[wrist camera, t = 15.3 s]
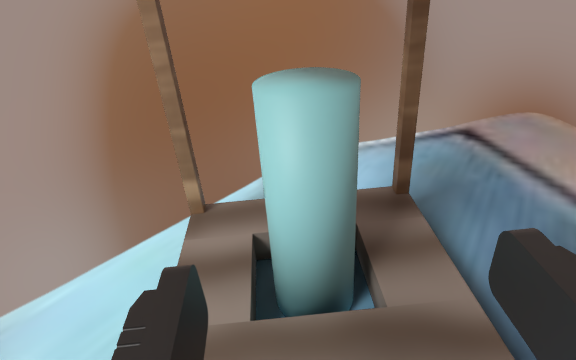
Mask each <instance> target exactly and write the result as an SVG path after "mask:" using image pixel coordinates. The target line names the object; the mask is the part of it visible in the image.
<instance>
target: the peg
mask: <svg viewBox="0 0 576 360" xmlns="http://www.w3.org/2000/svg"><path fill="white" fill-rule="evenodd" d="M360 83H361V79H360V77H359V76H358V75H356V74H355V73H352V72H349V71H346V70H341V69H335V68H321V67H315V68H314V67H310V68H296V69H288V70H282V71H278V72H274V73H270V74H267V75H264V76H262V77H260V78H258V79H257V80H255V81H254V82H253V84H252V91H253V100H254V108H255V118H256V126H257V135H258V144H259V152H260V160H261V170H262V179H263V187H264V196H265V205H266V213H267V222H268V231H269V240H270V248H271V257H272V266H273V274H274V283H275V292H276V300H277V305H278V307H279V309H280V310H281V312H282V313H283V314H284V315H285V316H286V317H295V316H305V315H314V314H324V313H334V312H343V311H349V310H350V308H351V306H352V303H353V288H354V259H355V230H356V200H357V171H358V142H359V141H358V140H359V113H360Z"/></svg>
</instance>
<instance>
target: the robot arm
mask: <svg viewBox="0 0 576 360" xmlns="http://www.w3.org/2000/svg"><path fill="white" fill-rule="evenodd" d="M489 284H490V288H491V291H492V293H493V295H494V297H495V298H496V300H497V301H498V303H499V304H500V306H501V307H502V309H503V310H504V312H505V313H506V314H507V316H508V317H509V319H510V320H511V322H512V323H513V325H514V326H515V328H516V329H517V330H518V332H519V333H520V335H521V336H522V338H523V339H524V341H525V342H526V344H527V345H528V346H529V348H530V349H531V351H532V352H533V354H534V355H535V357H536V358H537V360H576V255H575V254H574V253H572V252H570V251H568V250H567V249H565V248H563V247H561V246H555V245H554V244H553V243H552V242H551V241H550V240H549V239H548V238H547V237H546V236H545V235H544V234H543V233H542V232H540V231H539V230H537V229H535V228H529V229H520V230H511V231H503V232H502V233H501V234H500V235H499V238H498V241H497V245H496V248H495V252H494V256H493V259H492V263H491V267H490V270H489ZM207 332H208V308H207V303H206V299H205V296H204V292H203V289H202V286H201V282H200V279H199V275H198V272H197V269H196V267H195V265H184V266H175V267H166V268H164V269H163V271H162V273H161V277H160V280H159V283H158V286H157V289H156V290H147V291H144V292H143V293H142V294H141V295H140V297H139V298H138V299H137V300H136V302H135V303H134V304H133V305H132V306H131V308H130V309H129V312H128V315H127V318H126V320H125V323H124V326H123V332H121V334H120V337H119V340H118V343H117V349H115V351H114V354H113V356H112V359H111V360H204V354H205V346H206V339H207Z"/></svg>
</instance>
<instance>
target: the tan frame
mask: <svg viewBox="0 0 576 360" xmlns="http://www.w3.org/2000/svg"><path fill="white" fill-rule="evenodd" d="M137 3H138V7H139V11H140V15H141V19H142V23H143V27H144V31H145V35H146V39H147V43H148V47H149V51H150V54H151V58H152V62H153V66H154V70H155V74H156V78H157V82H158V86H159V90H160V94H161V98H162V101H163V105H164V110H165V114H166V117H167V121H168V125H169V129H170V133H171V137H172V141H173V145H174V149H175V153H176V157H177V160H178V165H179V169H180V172H181V176H182V181H183V185H184V188H185V192H186V196H187V200H188V204H189V208H190V212H191V217H190V220H189V224H188V228H187V232H186V235H185V239H184V243H183V246H182V250H181V254H180V258H179V261H178V265H177V266H184V265H195V267H196V269H197V272H198V275H199V279H200V282H201V286H202V289H203V292H204V296H205V299H206V303H207V308H208V332H207V339H206V346H205V354H204V360H515V359H514V358H513V356H512V354H511V353H510V351H509V350H508V348H507V347H506V345H505V343H504V342H503V340H502V339H501V337H500V336H499V334H498V332H497V331H496V329H495V328H494V326H493V325H492V323H491V322H490V320H489V318H488V317H487V315H486V314H485V312H484V311H483V309H482V307H481V306H480V304H479V303H478V301H477V300H476V298H475V296H474V295H473V293H472V292H471V290H470V289H469V287H468V285H467V284H466V282H465V281H464V279H463V278H462V276H461V274H460V273H459V271H458V270H457V268H456V267H455V265H454V263H453V262H452V260H451V259H450V257H449V256H448V254H447V252H446V251H445V249H444V248H443V246H442V245H441V243H440V241H439V240H438V238H437V237H436V235H435V234H434V232H433V230H432V229H431V227H430V226H429V224H428V223H427V221H426V219H425V218H424V216H423V215H422V213H421V212H420V210H419V208H418V207H417V205H416V204H415V202H414V201H413V199H412V197H411V196H410V194H409V186H410V177H411V168H412V159H413V150H414V141H415V132H416V123H417V114H418V105H419V96H420V87H421V78H422V69H423V60H424V50H425V41H426V32H427V24H428V15H429V5H430V0H408V3H407V16H406V27H405V39H404V51H403V63H402V75H401V88H400V100H399V112H398V123H397V124H398V125H397V135H396V148H395V160H394V172H393V184H392V186H390V187H380V188H369V189H359V190H357V200H356V230H355V250H356V252H357V255H358V258H359V261H360V264H361V267H362V270H363V273H364V276H365V279H366V282H367V285H368V288H369V291H370V294H371V297H372V300H373V303H374V306H375V308H372V309H363V310H353V311H343V312H334V313H324V314H314V315H305V316H295V317H285V318H275V319H266V320H256V260H263V259H272V257H271V248H270V240H269V231H268V222H267V213H266V205H265V199H256V200H246V201H236V202H225V203H215V204H205V201H204V196H203V192H202V188H201V183H200V179H199V174H198V170H197V166H196V161H195V157H194V152H193V148H192V143H191V139H190V134H189V130H188V126H187V121H186V117H185V113H184V108H183V104H182V99H181V95H180V91H179V86H178V81H177V77H176V72H175V68H174V64H173V59H172V55H171V51H170V46H169V42H168V37H167V33H166V28H165V24H164V19H163V15H162V10H161V6H160V2H159V0H137Z"/></svg>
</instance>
